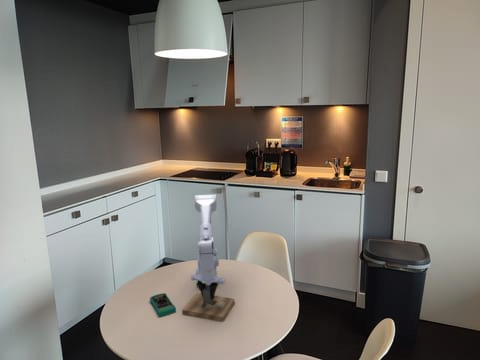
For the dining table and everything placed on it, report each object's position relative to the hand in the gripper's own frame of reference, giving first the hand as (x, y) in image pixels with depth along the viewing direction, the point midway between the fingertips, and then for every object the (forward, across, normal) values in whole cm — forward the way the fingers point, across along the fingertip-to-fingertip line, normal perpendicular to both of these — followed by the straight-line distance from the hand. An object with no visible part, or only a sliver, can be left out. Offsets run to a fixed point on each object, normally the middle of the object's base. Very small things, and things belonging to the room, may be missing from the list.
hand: (208, 297), depth 151 cm
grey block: (+2, 0, 0) cm, 2 cm away
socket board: (+5, 0, 0) cm, 5 cm away
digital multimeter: (+6, -20, -4) cm, 21 cm away
